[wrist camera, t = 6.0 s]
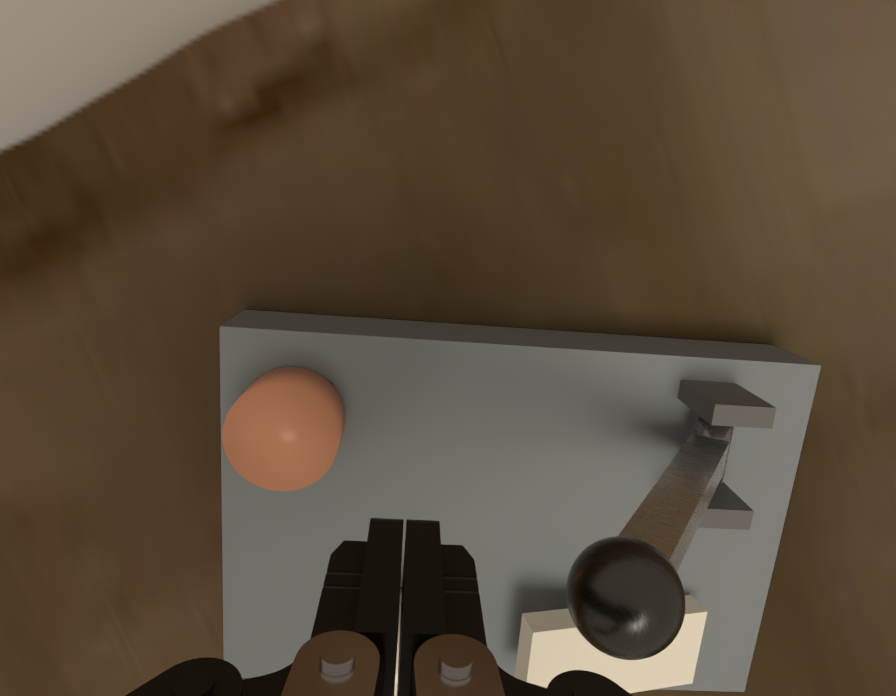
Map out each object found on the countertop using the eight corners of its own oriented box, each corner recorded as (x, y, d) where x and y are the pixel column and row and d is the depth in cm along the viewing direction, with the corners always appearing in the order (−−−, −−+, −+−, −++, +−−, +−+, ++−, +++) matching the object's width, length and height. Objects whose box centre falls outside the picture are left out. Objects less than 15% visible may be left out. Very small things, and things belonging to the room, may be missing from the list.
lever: (672, 465, 23) (542, 652, 13) (683, 403, 22) (555, 549, 12) (743, 484, 22) (658, 708, 12) (756, 420, 21) (681, 598, 11)
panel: (244, 624, 27) (200, 734, 21) (244, 309, 23) (191, 345, 18) (710, 640, 28) (780, 747, 23) (773, 344, 25) (873, 387, 19)
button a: (254, 439, 23) (222, 488, 20) (254, 348, 23) (221, 381, 19) (349, 444, 24) (336, 494, 20) (353, 354, 23) (339, 388, 19)
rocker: (512, 688, 23) (522, 709, 22) (522, 613, 22) (532, 632, 21) (676, 664, 24) (692, 683, 24) (690, 594, 24) (707, 611, 23)
